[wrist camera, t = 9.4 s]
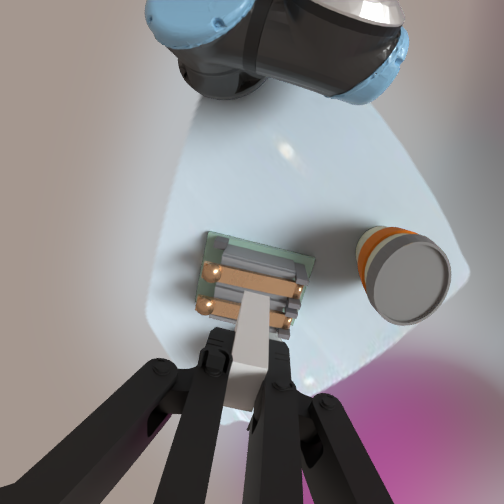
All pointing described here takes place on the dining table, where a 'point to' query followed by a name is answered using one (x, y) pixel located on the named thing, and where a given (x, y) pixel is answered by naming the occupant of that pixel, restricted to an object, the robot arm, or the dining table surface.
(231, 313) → the strap
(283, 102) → the dining table surface
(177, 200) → the dining table surface
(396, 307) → the reusable coffee cup
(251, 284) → the strap
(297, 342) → the dining table surface
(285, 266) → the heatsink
